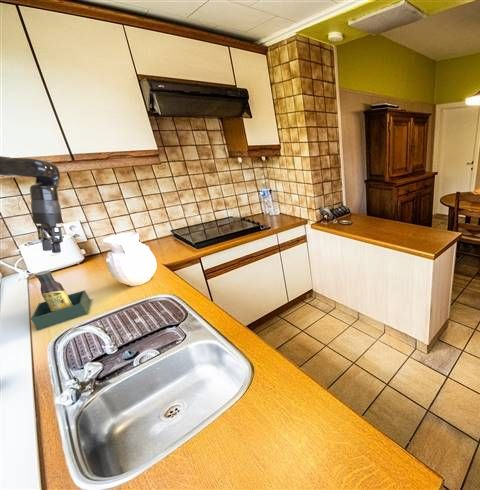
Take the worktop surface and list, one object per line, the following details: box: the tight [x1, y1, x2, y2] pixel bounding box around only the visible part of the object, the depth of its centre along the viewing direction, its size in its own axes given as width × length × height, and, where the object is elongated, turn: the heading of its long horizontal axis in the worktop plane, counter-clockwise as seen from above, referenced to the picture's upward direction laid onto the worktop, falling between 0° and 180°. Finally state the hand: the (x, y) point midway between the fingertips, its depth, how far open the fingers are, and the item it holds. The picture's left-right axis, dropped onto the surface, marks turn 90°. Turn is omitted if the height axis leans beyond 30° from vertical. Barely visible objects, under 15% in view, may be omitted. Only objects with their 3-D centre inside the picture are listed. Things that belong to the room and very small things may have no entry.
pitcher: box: [102, 231, 158, 287], centre depth 133 cm, size 19×18×25 cm
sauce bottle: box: [35, 270, 73, 312], centre depth 110 cm, size 7×6×20 cm
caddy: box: [30, 290, 91, 331], centre depth 113 cm, size 14×14×5 cm
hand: (52, 251), depth 108 cm, fingers open, 8 cm apart
